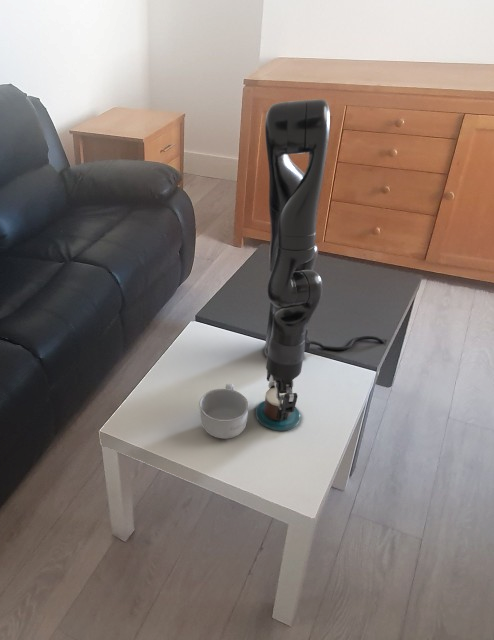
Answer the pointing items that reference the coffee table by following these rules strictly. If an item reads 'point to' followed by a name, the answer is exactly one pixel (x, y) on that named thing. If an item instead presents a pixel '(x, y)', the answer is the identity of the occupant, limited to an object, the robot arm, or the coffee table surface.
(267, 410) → the cake
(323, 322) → the coffee table surface
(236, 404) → the teacup
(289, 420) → the cake plate
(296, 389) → the coffee table surface
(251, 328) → the coffee table surface
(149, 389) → the coffee table surface
